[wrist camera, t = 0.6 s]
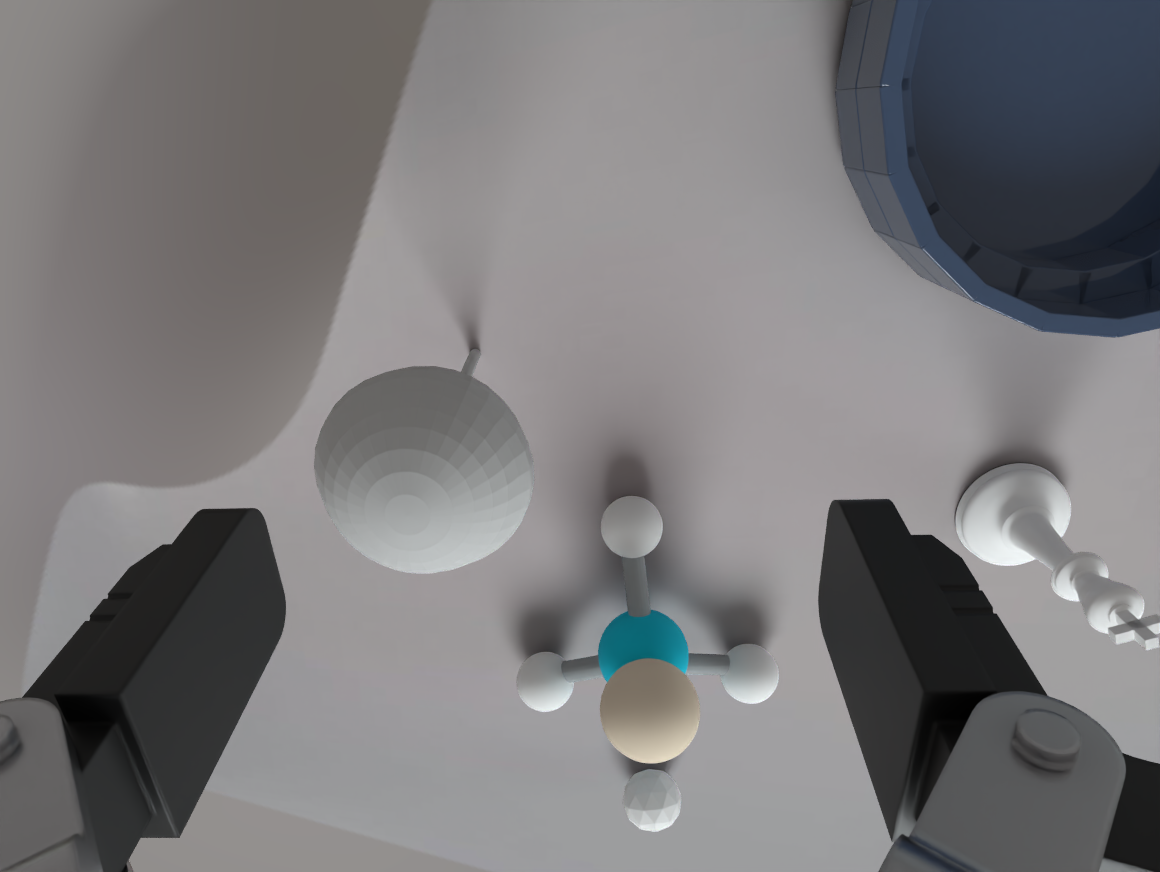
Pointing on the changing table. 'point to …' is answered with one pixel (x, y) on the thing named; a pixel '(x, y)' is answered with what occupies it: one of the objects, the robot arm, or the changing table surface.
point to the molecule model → (645, 657)
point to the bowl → (1013, 152)
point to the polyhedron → (652, 800)
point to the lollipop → (424, 468)
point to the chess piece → (1048, 547)
